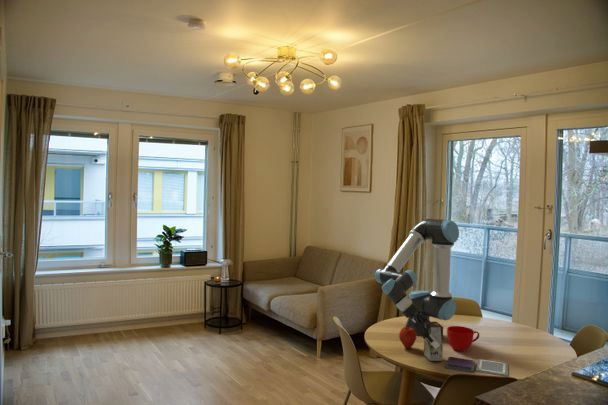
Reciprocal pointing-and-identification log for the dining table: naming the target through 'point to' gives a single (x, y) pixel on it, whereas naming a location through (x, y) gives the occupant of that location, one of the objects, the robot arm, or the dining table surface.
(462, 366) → the ink pad
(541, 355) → the dining table surface
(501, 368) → the marked board
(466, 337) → the ceramic cup
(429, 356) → the coffee box
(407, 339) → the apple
